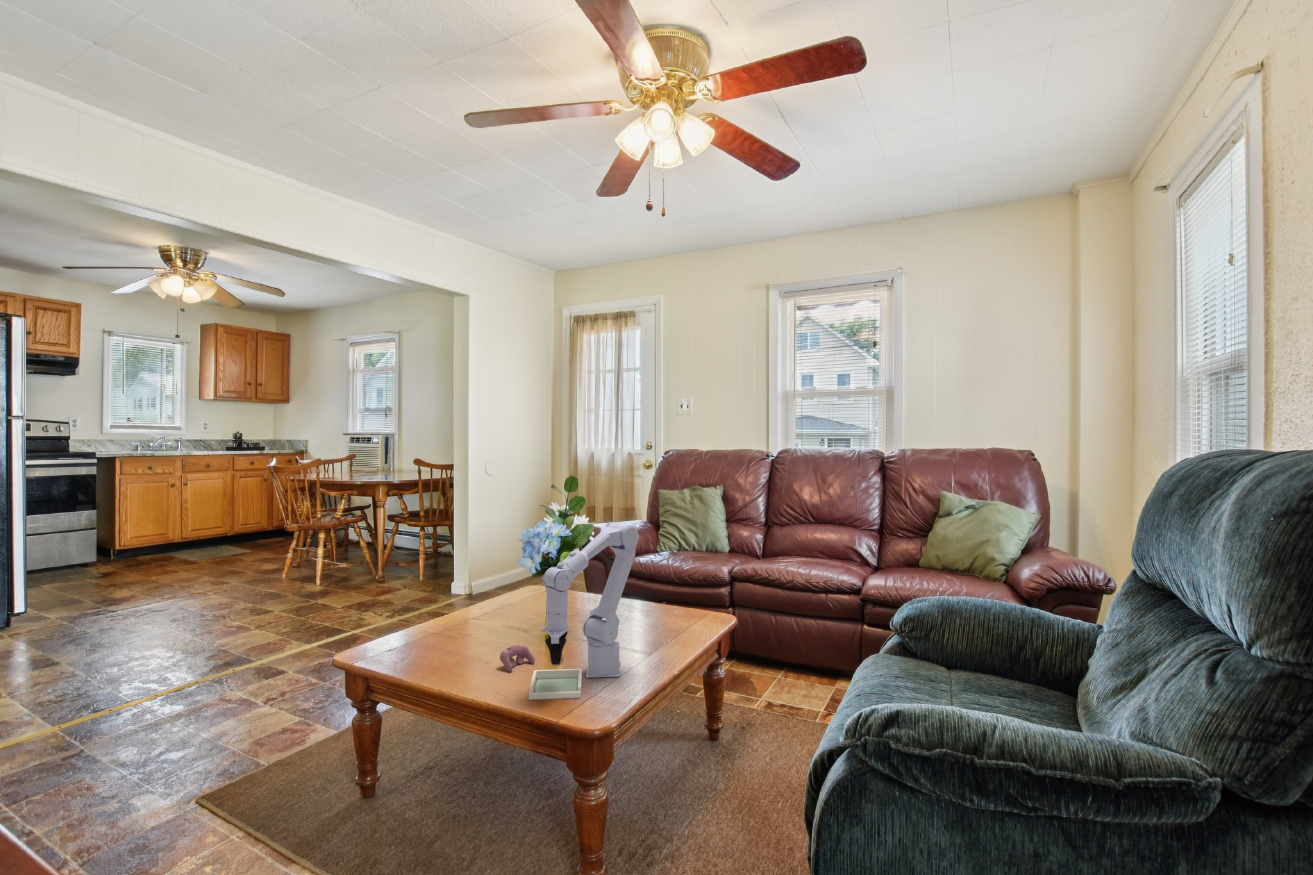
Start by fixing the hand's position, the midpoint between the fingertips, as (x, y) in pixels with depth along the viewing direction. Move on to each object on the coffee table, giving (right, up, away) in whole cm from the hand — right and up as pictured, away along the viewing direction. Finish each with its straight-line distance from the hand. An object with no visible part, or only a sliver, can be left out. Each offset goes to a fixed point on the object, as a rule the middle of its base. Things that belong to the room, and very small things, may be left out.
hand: (556, 660), depth 168 cm
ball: (0, -1, 0) cm, 1 cm away
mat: (0, -8, 0) cm, 8 cm away
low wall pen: (0, -8, 0) cm, 8 cm away
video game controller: (-14, -8, +16) cm, 23 cm away
